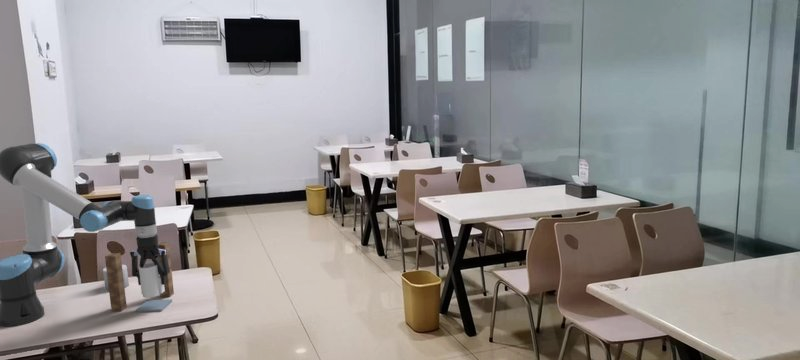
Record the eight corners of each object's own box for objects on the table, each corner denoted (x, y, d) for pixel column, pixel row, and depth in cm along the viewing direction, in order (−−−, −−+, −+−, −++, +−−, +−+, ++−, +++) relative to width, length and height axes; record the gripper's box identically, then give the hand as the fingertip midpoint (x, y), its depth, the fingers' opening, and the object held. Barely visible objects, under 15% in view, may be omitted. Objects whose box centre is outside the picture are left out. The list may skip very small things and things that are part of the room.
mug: (153, 298, 222) (149, 268, 219) (138, 297, 223) (134, 267, 221) (169, 289, 231) (166, 260, 229) (155, 288, 233) (151, 259, 231)
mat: (135, 311, 223) (135, 309, 223) (147, 301, 233) (147, 300, 233) (161, 311, 223) (161, 309, 223) (172, 301, 233) (172, 299, 233)
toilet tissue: (125, 279, 262) (123, 261, 260) (130, 287, 250) (127, 268, 249) (103, 283, 257) (101, 264, 255) (106, 292, 246) (104, 272, 244)
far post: (160, 297, 238) (154, 245, 234) (164, 293, 242) (159, 242, 238) (170, 296, 238) (164, 245, 234) (173, 293, 242) (168, 242, 238)
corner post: (111, 311, 225) (104, 256, 221) (116, 307, 229) (110, 253, 225) (121, 311, 225) (115, 256, 221) (126, 307, 228) (120, 253, 225)
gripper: (116, 238, 220) (124, 296, 224) (167, 237, 219) (174, 295, 223) (126, 233, 227) (133, 289, 231) (175, 232, 227) (181, 288, 231)
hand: (153, 292), depth 227 cm, fingers closed on mug, 6 cm apart
